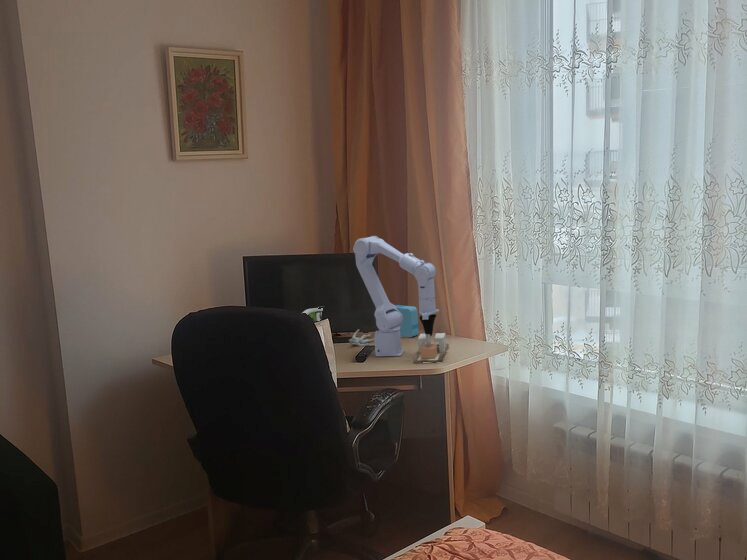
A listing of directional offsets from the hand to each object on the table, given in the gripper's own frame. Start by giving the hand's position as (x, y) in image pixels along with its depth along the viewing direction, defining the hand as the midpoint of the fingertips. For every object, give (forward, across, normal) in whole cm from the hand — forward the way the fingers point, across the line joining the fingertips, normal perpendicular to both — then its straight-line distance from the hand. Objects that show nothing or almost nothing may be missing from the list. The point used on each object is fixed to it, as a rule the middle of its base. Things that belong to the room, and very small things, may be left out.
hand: (429, 335), depth 269 cm
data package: (+8, +36, +15) cm, 40 cm away
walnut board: (+8, +4, 0) cm, 9 cm away
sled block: (+7, -3, 0) cm, 7 cm away
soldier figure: (+8, +23, +30) cm, 38 cm away
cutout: (+8, +34, +47) cm, 59 cm away
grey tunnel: (+8, +7, 0) cm, 11 cm away
